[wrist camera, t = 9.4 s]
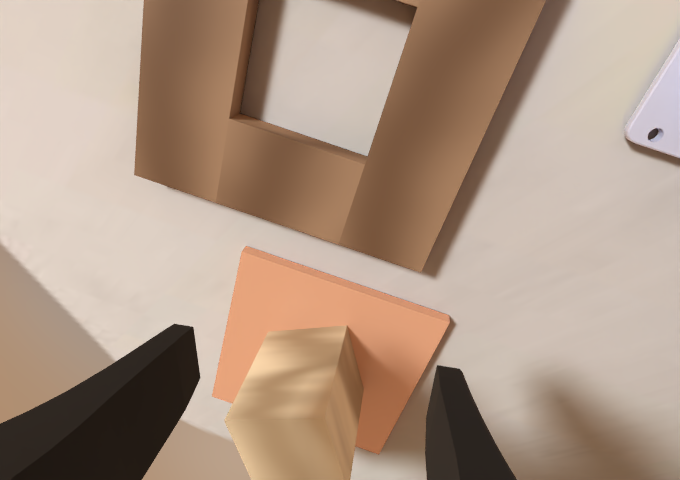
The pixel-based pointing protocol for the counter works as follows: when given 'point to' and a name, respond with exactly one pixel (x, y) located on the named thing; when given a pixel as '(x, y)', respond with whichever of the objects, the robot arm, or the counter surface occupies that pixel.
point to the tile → (327, 311)
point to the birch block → (299, 406)
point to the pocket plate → (317, 156)
